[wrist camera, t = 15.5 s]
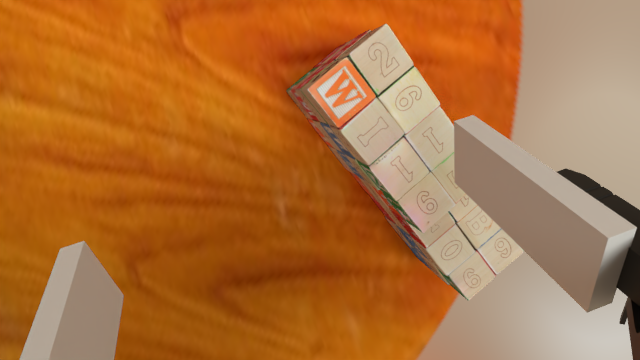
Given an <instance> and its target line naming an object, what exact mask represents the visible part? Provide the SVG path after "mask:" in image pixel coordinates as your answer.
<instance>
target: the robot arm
mask: <svg viewBox="0 0 640 360" xmlns="http://www.w3.org/2000/svg"><path fill="white" fill-rule="evenodd" d="M454 175H455V183H456V184H457V185H458V186H459V187H460V188H461V189H462V190H463V191H464V192H465V193H466V194H467V195H468V196H469V197H470V198H471V199H472V200H473V201H474V202H475V203H476V204H477V205H478V206H479V207H480V208H481V209H482V210H483V211H484V212H485V213H486V214H487V215H488V216H489V217H490V218H491V219H492V220H493V221H494V222H495V223H496V224H497V225H498V226H499V227H501V228H502V229H503V230H504V231H505V232H506V233H507V234H508V235H509V236H510V237H511V238H512V239H513V240H514V241H515V242H516V243H517V244H518V245H519V246H520V247H521V248H522V249H523V250H524V251H525V252H526V253H527V254H528V255H529V256H530V257H531V258H532V259H533V260H534V261H535V262H536V263H537V264H538V265H539V266H540V267H541V268H543V270H544V271H545V272H546V273H548V275H549V276H550V277H552V278H553V279H554V280H555V281H556V282H557V283H558V284H559V285H560V286H561V287H562V288H563V289H564V290H565V291H566V292H567V293H568V294H569V295H570V296H571V297H572V298H573V299H574V300H575V301H576V302H577V303H578V304H579V305H580V306H581V307H582V308H583V309H584V310H585V311H586V312H590V311H592V310H594V309H597V308H600V307H602V306H605V305H607V304H610V303H612V301H613V298H614V295H615V292H616V289H617V288H618V289H619V290H621V291H622V292H623V293H624V294H626V295H627V296H628V298H627V301H626V304H625V307H624V309H623V312H622V315H621V318H620V324H625V322H626V319H627V318H628V325H629V332H630V340H631V347H632V355H633V360H640V210H639V209H637V208H635V207H634V206H632V205H631V204H629V203H628V202H626V201H625V200H623V199H622V198H620V197H618V196H617V195H613V193H612V192H611V191H609V190H608V189H606V188H604V187H601V186H600V184H598V183H597V182H595V181H594V180H592V179H590V178H589V177H587V176H586V175H584V174H581V173H578V172H574V171H572V170H568V169H564V170H561V171H558V172H556V171H554V170H553V169H551V168H550V167H548V166H547V165H545V164H544V163H542V162H541V161H540V160H538V159H537V158H535V157H534V156H532V155H531V154H529V153H528V152H526V151H525V150H523V149H522V148H521V147H519V146H518V145H516V144H515V143H513V142H512V141H510V140H509V139H507V138H506V137H505V136H503V135H502V134H500V133H499V132H497V131H496V130H494V129H493V128H491V127H490V126H489V125H487V124H486V123H484V122H483V121H481V120H480V119H478V118H477V117H475V116H474V115H472V116H469V117H466V118H463V119H460V120H457V121H454ZM123 298H124V295H123V294H122V292H121V291H120V289H119V288H118V287H117V285H116V284H115V282H114V281H113V280H112V278H111V277H110V276H109V274H108V273H107V271H106V270H105V269H104V267H103V266H102V264H101V263H100V262H99V260H98V259H97V258H96V256H95V255H94V253H93V252H92V251H91V249H90V248H89V247H88V245H87V244H86V242H85V241H82V242H79V243H76V244H73V245H70V246H67V247H64V248H61V249H60V251H59V253H58V256H57V259H56V261H55V264H54V267H53V270H52V272H51V275H50V278H49V281H48V283H47V286H46V289H45V291H44V294H43V297H42V300H41V302H40V305H39V308H38V311H37V313H36V316H35V319H34V321H33V324H32V327H31V330H30V332H29V335H28V338H27V341H26V343H25V346H24V349H23V351H22V354H21V357H20V360H114V357H115V350H116V344H117V337H118V331H119V324H120V318H121V311H122V305H123Z"/></svg>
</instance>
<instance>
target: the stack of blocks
mask: <svg viewBox="0 0 640 360" xmlns="http://www.w3.org/2000/svg"><path fill="white" fill-rule="evenodd" d="M286 91H287V93H288V94H289V96H290V97H291V98H292V99H293V101H294V102H295V103H296V104H297V106H298V107H299V108H300V110H301V111H302V112H303V113H304V115H305V116H306V117H307V120H308V121H309V123H310V124H311V125H312V126H313V128H314V129H315V130H316V132H317V133H318V134H319V135H320V137H321V138H322V139H323V140H324V142H325V143H326V144H327V145H328V147H329V148H330V149H331V151H332V152H333V153H334V155H335V156H336V157H337V158H338V160H339V161H340V162H341V163H342V165H343V166H344V167H345V169H347V170H348V171H350V173H351V174H352V175H353V177H354V178H355V179H356V180H357V182H358V183H359V184H360V185H361V187H362V188H363V189H364V190H365V192H366V193H368V194H369V196H370V197H371V198H372V200H373V201H374V202H375V203H376V205H377V206H378V207H379V208H380V210H381V211H382V212H383V213H384V215H385V218H386V219H387V221H388V222H389V223H390V224H391V226H392V227H393V228H394V230H395V231H396V232H397V233H398V235H399V236H400V237H401V238H402V239H403V240H404V241H405V243H406V244H407V245H408V246H409V248H410V249H411V250H412V251H413V253H414V254H415V255H416V256H417V258H418V259H419V260H420V261H422V262H423V263H424V264H425V265H426V266H427V267H428V268H430V269H431V270H432V271H433V272H434V273H435V274H436V275H437V276H438V277H439V278H441V279H442V280H443V281H444V282H445V283H446V284H448V285H451V286H452V287H453V288H454V289H455V290H456V291H458V292H459V293H460V294H461V295H462V296H463V297H465V298H466V299H467V300H470V299H471V298H472V297H473V296H474V295H476V294H477V293H478V292H479V291H480V290H481V289H482V288H484V287H485V286H486V285H487V284H488V283H490V282H491V281H492V280H493V279H494V278H495V277H496V275H497V274H499V273H500V272H501V271H502V270H504V269H505V268H506V267H507V266H508V265H509V264H510V263H512V262H513V261H514V260H515V259H516V258H517V257H518V256H520V255H521V254H522V253H523V252H524V250H523V249H522V248H521V247H520V246H519V245H518V244H517V243H516V242H515V241H514V240H513V239H512V238H511V237H510V236H509V235H508V234H507V233H506V232H505V231H504V230H503V229H502V228H501V227H499V226H498V225H497V224H496V223H495V222H494V221H493V220H492V219H491V218H490V217H489V216H488V215H487V214H486V213H485V212H484V211H483V210H482V209H481V208H480V207H479V206H478V205H477V204H476V203H475V202H474V201H473V200H472V199H471V198H470V197H469V196H468V195H467V194H466V193H465V192H464V191H463V190H462V189H461V188H460V187H459V186H458V185H457V184H456V183H455V175H454V125H453V124H452V122H451V121H450V119H449V118H448V116H447V115H446V113H445V112H444V111H443V109H442V108H441V107H440V102H439V101H438V99H437V98H436V96H435V95H434V93H433V92H432V90H431V89H430V87H429V86H428V85H427V83H426V82H425V80H424V79H423V77H422V76H421V74H420V73H419V71H418V70H417V69H416V67H414V66H413V61H412V60H411V58H410V57H409V55H408V54H407V52H406V51H405V49H404V48H403V46H402V44H401V43H400V41H399V40H398V38H397V37H396V35H395V34H394V32H393V31H392V29H391V28H390V27H389V26H388V25H387V24H384V25H382V26H380V27H378V28H376V29H374V30H373V31H370V30H368V31H366V32H364V33H362V34H360V35H358V36H357V37H356V38H354V39H352V40H351V41H349V42H347V43H345V44H343V45H340V46H339V47H337V48H336V49H335V50H334V51H333V52H331V53H330V54H329V55H328V56H327V57H325V58H324V59H323V60H322V61H321V62H319V63H318V64H317V65H316V66H314V68H313V69H312V70H311V71H309V72H308V73H307V74H306V75H304V76H303V77H302V78H301V79H300V80H298V81H297V82H296V83H295V84H293V85H292V86H291V87H290V88H288V89H287V90H286Z"/></svg>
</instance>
